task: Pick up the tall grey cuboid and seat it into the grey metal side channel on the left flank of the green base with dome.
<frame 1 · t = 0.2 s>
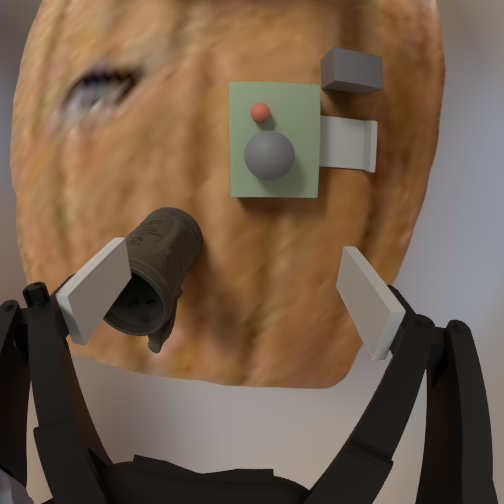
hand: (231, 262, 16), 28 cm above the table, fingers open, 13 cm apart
green base with dome: (272, 138, 38), on the table
tall grey cuboid: (342, 76, 34), on the table
beer stein: (176, 249, 46), on the table
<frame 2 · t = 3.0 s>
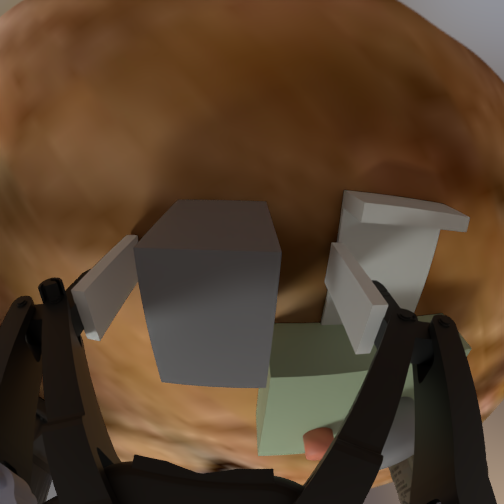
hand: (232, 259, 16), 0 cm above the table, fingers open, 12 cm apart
green base with dome: (349, 372, 21), on the table
tall grey cuboid: (221, 256, 17), on the table
beer stein: (422, 421, 29), on the table
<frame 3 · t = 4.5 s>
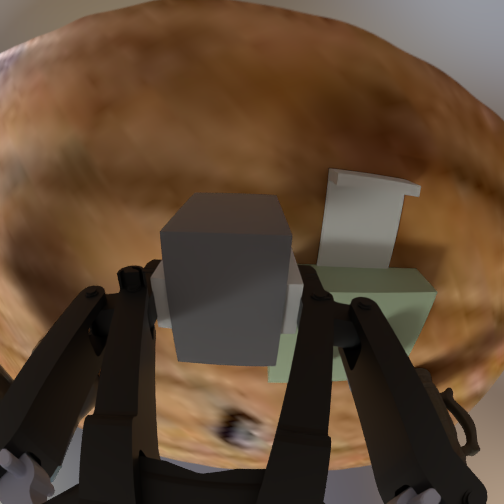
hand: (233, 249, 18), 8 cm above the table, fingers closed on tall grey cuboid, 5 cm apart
green base with dome: (341, 313, 29), on the table
tall grey cuboid: (234, 246, 18), point 7 cm above the table, touching gripper
beer stein: (413, 383, 36), on the table
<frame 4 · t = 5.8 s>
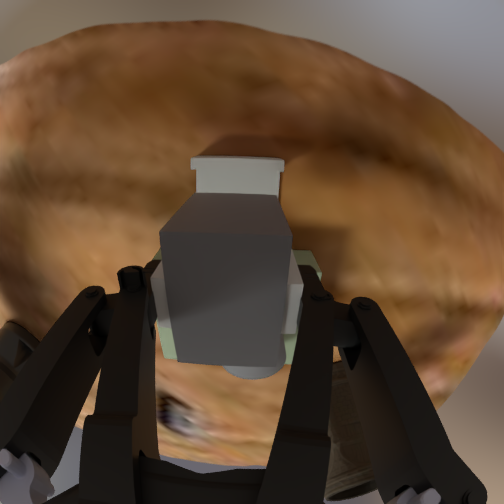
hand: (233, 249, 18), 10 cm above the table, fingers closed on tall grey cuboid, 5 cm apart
green base with dome: (235, 296, 31), on the table
tall grey cuboid: (234, 246, 18), point 10 cm above the table, touching gripper
beer stein: (347, 378, 38), on the table
when the fingers open (1 cm above the table, at t = 7.5 s): tall grey cuboid stays where it is, resting on green base with dome.
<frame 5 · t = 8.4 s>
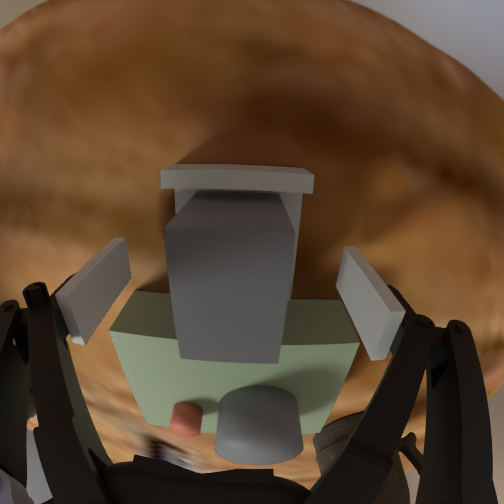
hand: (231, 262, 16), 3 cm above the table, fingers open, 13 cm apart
green base with dome: (235, 354, 22), on the table
tall grey cuboid: (236, 244, 18), resting on green base with dome
beer stein: (366, 425, 29), on the table
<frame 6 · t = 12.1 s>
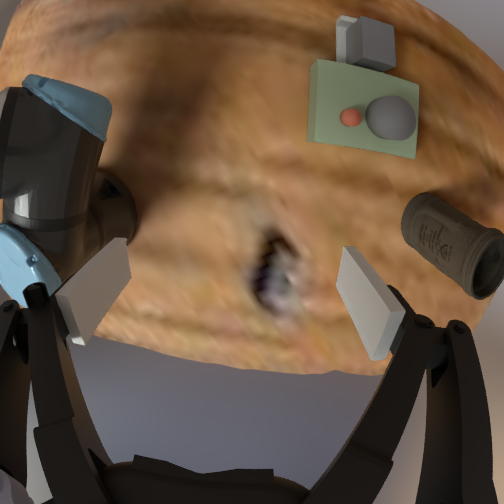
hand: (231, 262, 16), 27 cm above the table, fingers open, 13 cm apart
green base with dome: (358, 111, 35), on the table
tall grey cuboid: (360, 52, 31), resting on green base with dome
beer stein: (432, 218, 42), on the table
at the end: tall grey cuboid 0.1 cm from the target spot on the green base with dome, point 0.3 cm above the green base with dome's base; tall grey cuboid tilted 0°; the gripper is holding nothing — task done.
